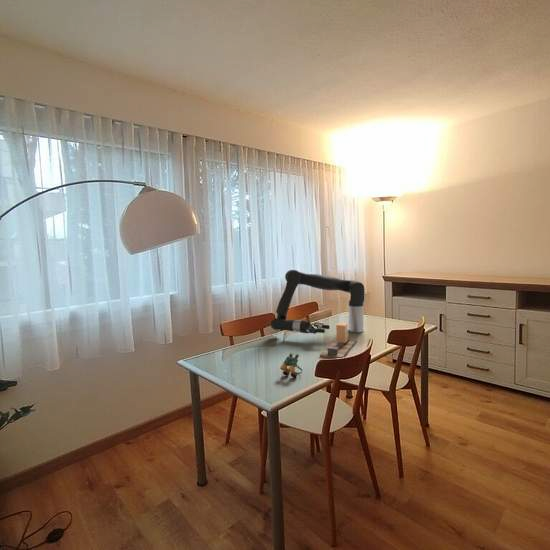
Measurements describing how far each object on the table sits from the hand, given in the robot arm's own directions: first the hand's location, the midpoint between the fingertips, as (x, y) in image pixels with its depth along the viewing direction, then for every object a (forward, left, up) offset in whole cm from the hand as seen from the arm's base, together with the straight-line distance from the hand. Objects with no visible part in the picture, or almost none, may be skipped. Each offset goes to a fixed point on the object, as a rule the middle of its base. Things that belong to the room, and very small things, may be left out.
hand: (327, 329), depth 191 cm
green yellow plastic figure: (+34, -35, -9) cm, 50 cm away
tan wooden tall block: (+7, +6, -6) cm, 11 cm away
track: (+11, +2, -9) cm, 14 cm away
